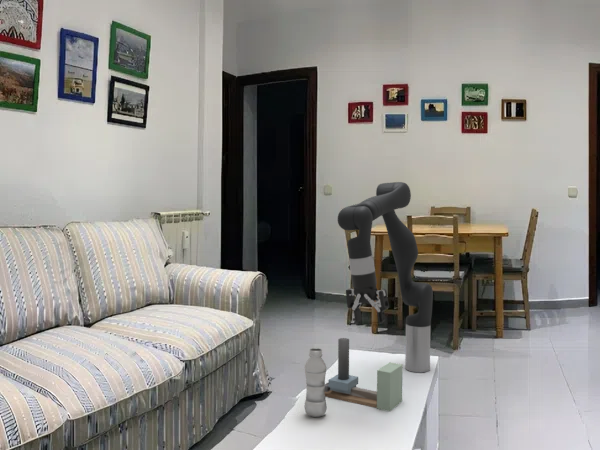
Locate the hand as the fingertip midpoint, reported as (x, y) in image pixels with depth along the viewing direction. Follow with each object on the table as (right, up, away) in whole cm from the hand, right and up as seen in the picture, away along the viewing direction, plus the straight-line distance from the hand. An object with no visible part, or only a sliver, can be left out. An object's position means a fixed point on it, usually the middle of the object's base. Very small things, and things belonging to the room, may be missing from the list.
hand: (370, 322), depth 173 cm
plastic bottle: (-17, -27, -5) cm, 33 cm away
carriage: (-7, -25, +12) cm, 28 cm away
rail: (-4, -26, +10) cm, 29 cm away
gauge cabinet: (+7, -27, +4) cm, 28 cm away
